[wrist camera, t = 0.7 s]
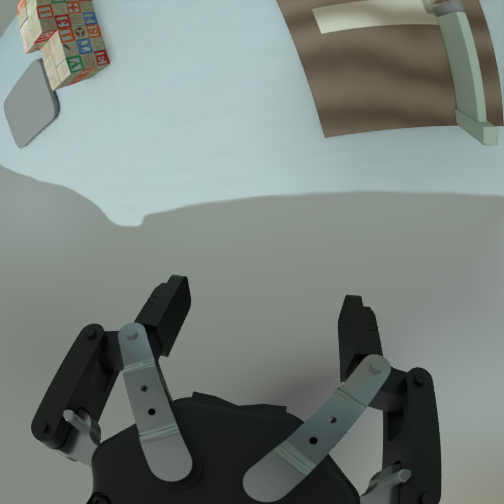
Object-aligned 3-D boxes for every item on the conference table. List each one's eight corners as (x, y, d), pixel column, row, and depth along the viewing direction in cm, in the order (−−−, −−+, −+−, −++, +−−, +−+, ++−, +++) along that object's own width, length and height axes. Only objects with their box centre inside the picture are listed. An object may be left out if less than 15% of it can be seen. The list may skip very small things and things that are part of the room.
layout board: (250, -52, 17) (247, -55, 16) (441, -67, 5) (443, -70, 4) (325, 135, 33) (324, 138, 33) (500, 124, 22) (503, 126, 21)
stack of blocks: (111, 63, 33) (55, 80, 24) (90, 78, 35) (37, 98, 26) (86, -21, 20) (32, -18, 11) (66, -3, 23) (15, 5, 14)
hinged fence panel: (429, 5, 15) (454, -6, 9) (443, 6, 15) (470, -3, 9) (456, 123, 24) (483, 145, 18) (468, 123, 23) (497, 145, 17)
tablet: (8, 101, 42) (2, 104, 40) (46, 52, 32) (37, 55, 30) (24, 147, 51) (19, 151, 50) (65, 111, 41) (57, 115, 40)
